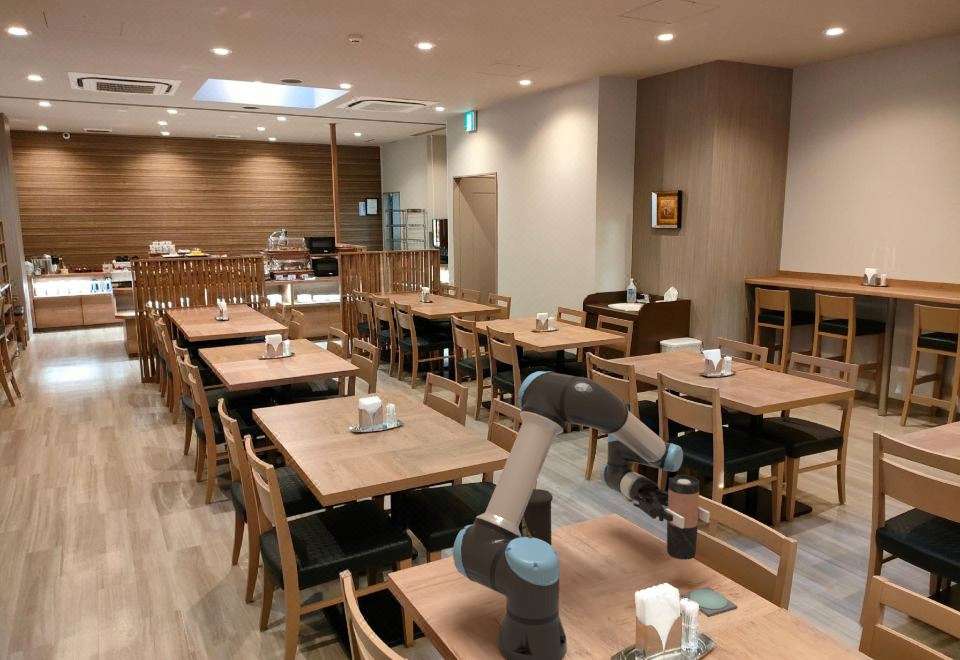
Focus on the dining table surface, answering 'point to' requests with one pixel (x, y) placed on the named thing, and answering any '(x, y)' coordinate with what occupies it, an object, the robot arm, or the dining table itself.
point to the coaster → (710, 601)
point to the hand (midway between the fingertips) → (695, 520)
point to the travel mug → (686, 505)
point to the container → (538, 516)
